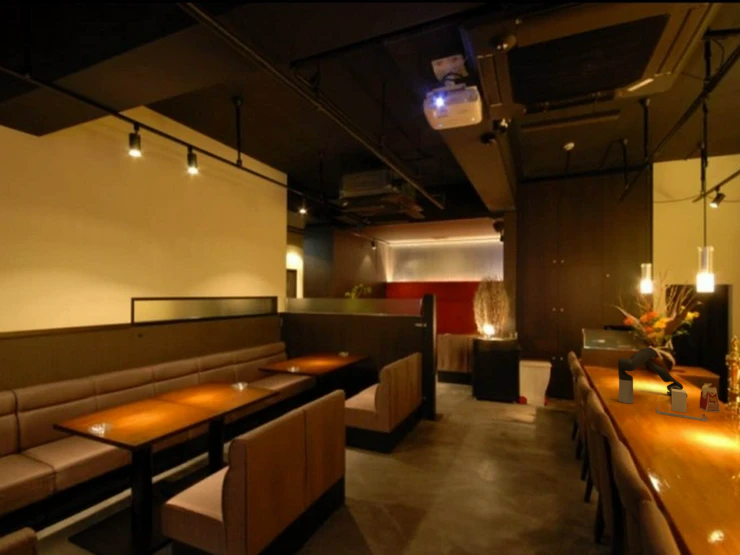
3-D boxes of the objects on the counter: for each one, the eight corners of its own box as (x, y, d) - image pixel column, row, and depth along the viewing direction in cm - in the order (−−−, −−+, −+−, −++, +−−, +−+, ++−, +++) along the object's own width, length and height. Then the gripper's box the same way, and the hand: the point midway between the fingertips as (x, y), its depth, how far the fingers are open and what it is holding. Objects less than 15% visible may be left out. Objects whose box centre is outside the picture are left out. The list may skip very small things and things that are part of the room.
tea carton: (672, 410, 279) (672, 391, 280) (671, 407, 286) (671, 388, 286) (686, 412, 275) (686, 392, 275) (685, 409, 281) (685, 390, 282)
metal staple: (656, 413, 273) (656, 411, 273) (656, 408, 284) (655, 406, 284) (707, 421, 257) (707, 419, 257) (704, 415, 268) (704, 413, 268)
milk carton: (721, 412, 275) (720, 384, 276) (706, 411, 277) (705, 383, 278) (712, 408, 284) (712, 381, 285) (698, 407, 286) (697, 380, 286)
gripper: (665, 385, 306) (666, 390, 292) (687, 388, 298) (689, 393, 284) (665, 395, 306) (666, 400, 292) (687, 398, 298) (689, 403, 284)
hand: (677, 397), depth 288 cm, fingers closed
